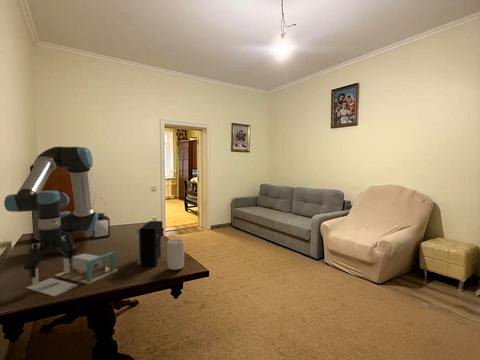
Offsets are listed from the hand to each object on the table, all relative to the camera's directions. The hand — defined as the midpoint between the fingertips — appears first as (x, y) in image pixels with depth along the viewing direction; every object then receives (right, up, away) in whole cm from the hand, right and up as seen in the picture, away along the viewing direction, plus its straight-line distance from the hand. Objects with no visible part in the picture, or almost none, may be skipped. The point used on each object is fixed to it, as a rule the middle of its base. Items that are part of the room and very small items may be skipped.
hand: (52, 278), depth 110 cm
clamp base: (+6, -3, +15) cm, 17 cm away
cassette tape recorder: (-58, 0, +71) cm, 92 cm away
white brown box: (+6, -2, +15) cm, 16 cm away
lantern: (-23, 0, +81) cm, 84 cm away
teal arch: (+15, -4, +11) cm, 19 cm away
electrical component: (+31, -3, +32) cm, 45 cm away
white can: (+47, -3, +21) cm, 52 cm away
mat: (0, -4, 0) cm, 4 cm away
